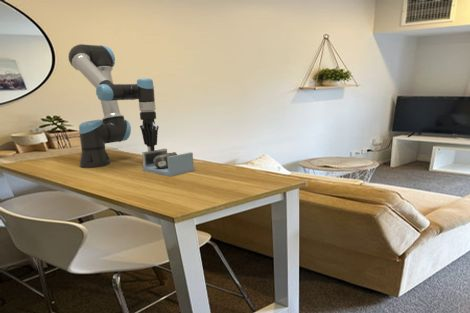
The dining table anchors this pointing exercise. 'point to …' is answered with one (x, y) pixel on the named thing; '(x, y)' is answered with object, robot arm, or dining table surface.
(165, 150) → the jaw
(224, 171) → the dining table surface
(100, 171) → the dining table surface
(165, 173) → the vise
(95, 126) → the robot arm
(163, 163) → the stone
